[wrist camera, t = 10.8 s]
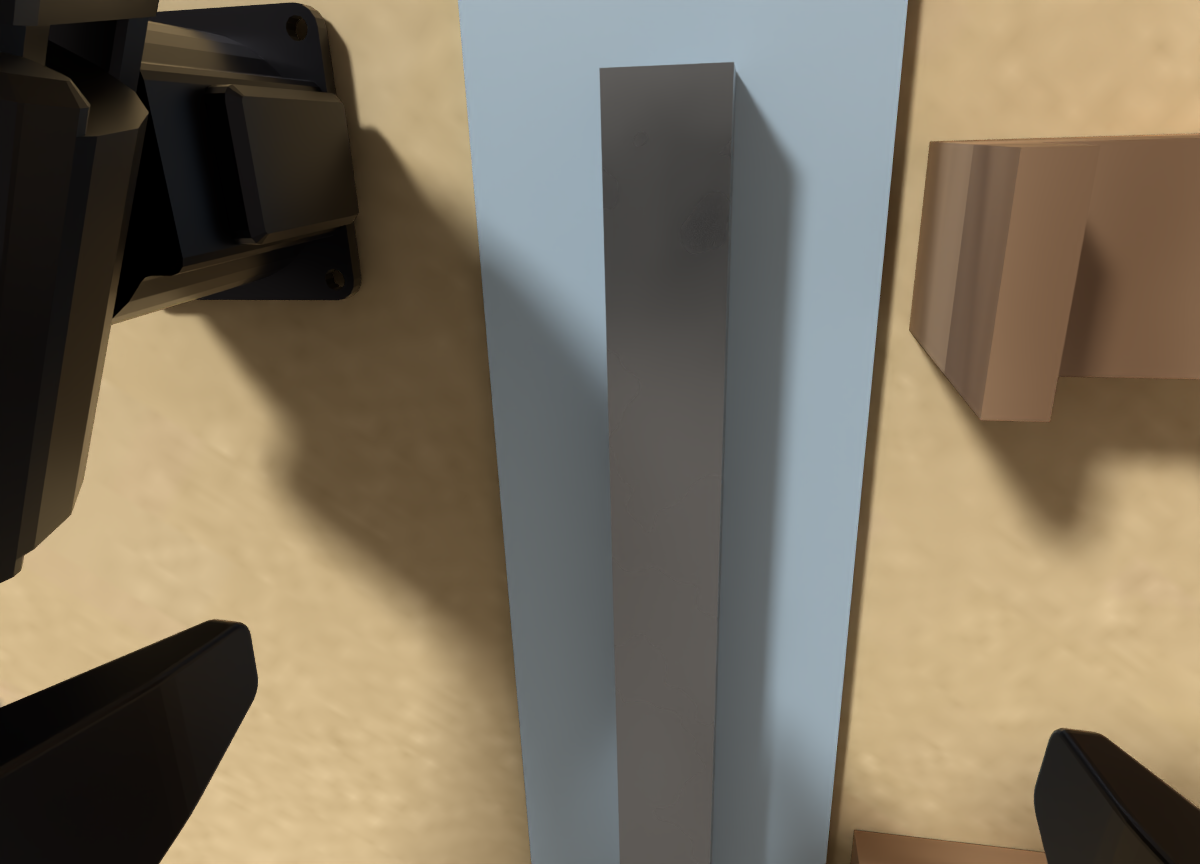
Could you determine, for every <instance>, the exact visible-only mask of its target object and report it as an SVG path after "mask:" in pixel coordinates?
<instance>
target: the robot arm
mask: <svg viewBox="0 0 1200 864" xmlns="http://www.w3.org/2000/svg"><path fill="white" fill-rule="evenodd" d="M158 3H159V0H0V583H2V582H4V581H6V580H8V579H10V578H12V577H14V576H15V575H16V574H17V573H19V572H20V571H21V568H22V565H23V559H24V555H25V554H27V553H29V552H30V551H32V550H34V549H35V548H36V547H37V546H38V545H39V544H40V543H41V542H42V541H43V540H44V539H45V538H46V537H48V536H49V535H50V534H51V533H52V532H53V531H54V530H55V529H56V528H57V527H58V526H59V525H60V524H61V523H62V522H64V521H65V520H66V519H67V518H68V517H69V516H70V515H71V513H72V510H73V508H74V505H75V502H76V499H77V496H78V494H79V491H80V488H81V485H82V483H83V480H84V474H85V469H86V463H87V457H88V452H89V446H90V441H91V435H92V429H93V424H94V418H95V412H96V407H97V401H98V396H99V390H100V384H101V379H102V373H103V367H104V362H105V356H106V351H107V345H108V339H109V334H110V328H111V325H113V324H116V323H119V322H123V321H126V320H129V319H132V318H136V317H139V316H142V315H146V314H149V313H152V312H155V311H159V310H162V309H165V308H169V307H172V306H175V305H178V304H182V303H185V302H188V301H191V300H341V299H345V298H348V297H350V296H352V295H354V294H355V293H356V292H357V291H358V290H359V288H360V286H361V270H360V263H359V256H358V249H357V242H356V235H355V227H354V219H355V218H356V216H357V215H358V213H359V210H358V202H357V195H356V188H355V180H354V173H353V166H352V158H351V151H350V144H349V136H348V129H347V122H346V114H345V107H344V104H343V103H342V102H341V101H340V100H339V98H338V97H337V96H336V91H335V84H334V76H333V69H332V62H331V55H330V48H329V40H328V33H327V28H326V24H325V21H324V19H323V17H322V16H321V15H320V13H319V12H318V11H317V10H315V9H314V8H312V7H311V6H307V5H303V4H299V3H279V4H264V5H250V6H235V7H221V8H207V9H192V10H178V11H163V12H157V9H158ZM302 18H303V19H304V20H305V22H306V24H307V27H308V31H307V35H306V37H305V39H304V40H300V39H299V38H298V36H297V33H296V24H297V22H298V21H299V19H302ZM334 270H338V271H340V272H341V273H342V274H343V277H344V279H345V282H344V286H343V287H341V286H339V285H338V284H337V283H336V282H335V281H334V278H333V273H334ZM257 687H258V675H257V669H256V663H255V657H254V651H253V645H252V639H251V634H250V631H249V629H248V627H247V626H246V625H245V624H243V623H241V622H234V621H226V620H218V619H213V620H208V621H206V622H203V623H201V624H199V625H196V626H194V627H191V628H189V629H187V630H184V631H182V632H179V633H177V634H175V635H172V636H170V637H168V638H165V639H163V640H160V641H158V642H156V643H153V644H151V645H149V646H146V647H144V648H141V649H139V650H137V651H134V652H132V653H129V654H127V655H125V656H122V657H120V658H118V659H115V660H113V661H110V662H108V663H106V664H103V665H101V666H99V667H96V668H94V669H91V670H89V671H87V672H84V673H82V674H79V675H77V676H75V677H72V678H70V679H68V680H65V681H63V682H60V683H58V684H56V685H53V686H51V687H49V688H46V689H44V690H41V691H39V692H37V693H34V694H32V695H30V696H27V697H25V698H22V699H20V700H18V701H15V702H13V703H10V704H8V705H6V706H3V707H1V708H0V864H159V863H160V862H161V860H162V859H163V857H164V856H165V854H166V853H167V851H168V850H169V848H170V847H171V845H172V844H173V842H174V841H175V839H176V838H177V836H178V835H179V833H180V831H181V830H182V828H183V827H184V825H185V824H186V822H187V820H188V819H189V817H190V816H191V814H192V812H193V810H194V809H195V807H196V805H197V803H198V802H199V800H200V798H201V797H202V795H203V793H204V791H205V789H206V787H207V785H208V784H209V782H210V780H211V778H212V776H213V774H214V773H215V771H216V769H217V767H218V765H219V763H220V761H221V760H222V758H223V756H224V754H225V752H226V750H227V748H228V747H229V745H230V743H231V741H232V739H233V737H234V736H235V734H236V732H237V730H238V728H239V726H240V724H241V723H242V721H243V719H244V717H245V715H246V713H247V711H248V710H249V708H250V706H251V704H252V702H253V700H254V698H255V695H256V692H257ZM1034 807H1035V813H1036V818H1037V822H1038V826H1039V830H1040V834H1041V838H1042V842H1043V846H1044V851H1045V855H1046V859H1047V863H1048V864H1200V809H1199V808H1197V807H1196V806H1195V805H1193V804H1192V803H1191V802H1190V801H1188V800H1187V799H1186V798H1184V797H1183V796H1182V795H1180V794H1179V793H1178V792H1177V791H1175V790H1174V789H1173V788H1171V787H1170V786H1169V785H1167V784H1166V783H1165V782H1164V781H1162V780H1161V779H1160V778H1158V777H1157V776H1156V775H1154V774H1153V773H1152V772H1151V771H1149V770H1148V769H1147V768H1145V767H1144V766H1143V765H1141V764H1140V763H1139V762H1138V761H1136V760H1135V759H1134V758H1132V757H1131V756H1130V755H1128V754H1127V753H1126V752H1125V751H1123V750H1122V749H1121V748H1119V747H1118V746H1117V745H1115V744H1114V743H1113V742H1112V741H1110V740H1109V739H1108V738H1106V737H1105V736H1103V735H1101V734H1099V733H1096V732H1090V731H1083V730H1075V729H1067V728H1060V729H1057V730H1055V731H1054V732H1053V733H1052V735H1051V737H1050V739H1049V742H1048V745H1047V748H1046V752H1045V755H1044V758H1043V762H1042V765H1041V768H1040V772H1039V775H1038V778H1037V782H1036V785H1035V790H1034Z"/></svg>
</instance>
